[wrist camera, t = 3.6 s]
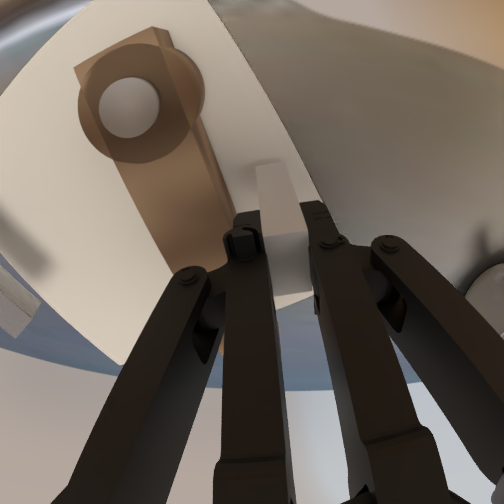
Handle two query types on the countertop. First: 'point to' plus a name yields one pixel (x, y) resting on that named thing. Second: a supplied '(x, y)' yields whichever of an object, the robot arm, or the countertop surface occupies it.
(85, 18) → the base board
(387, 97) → the countertop surface
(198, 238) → the latch
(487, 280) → the teacup
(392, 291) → the robot arm
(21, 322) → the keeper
